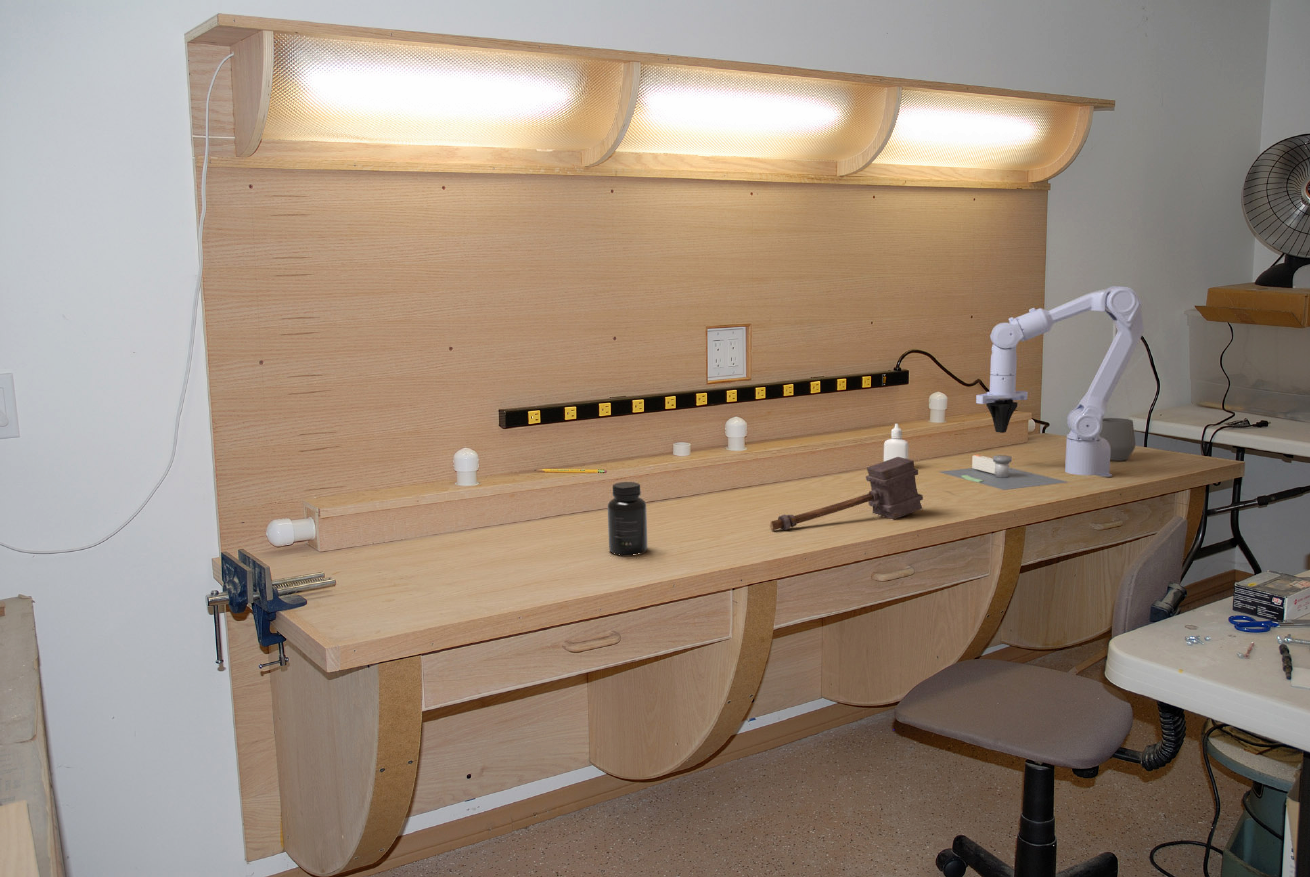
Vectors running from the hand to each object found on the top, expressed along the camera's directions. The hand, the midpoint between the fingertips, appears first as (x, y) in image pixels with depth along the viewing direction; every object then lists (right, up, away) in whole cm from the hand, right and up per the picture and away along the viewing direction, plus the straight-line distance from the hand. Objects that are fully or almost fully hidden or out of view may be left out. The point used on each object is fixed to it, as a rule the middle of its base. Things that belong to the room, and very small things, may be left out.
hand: (1000, 432), depth 233 cm
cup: (+34, -7, +17) cm, 39 cm away
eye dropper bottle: (-24, -10, +4) cm, 26 cm away
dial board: (-2, -11, -7) cm, 13 cm away
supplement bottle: (-86, -22, -59) cm, 107 cm away
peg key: (-4, -10, -4) cm, 11 cm away
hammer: (-45, -18, -41) cm, 63 cm away
